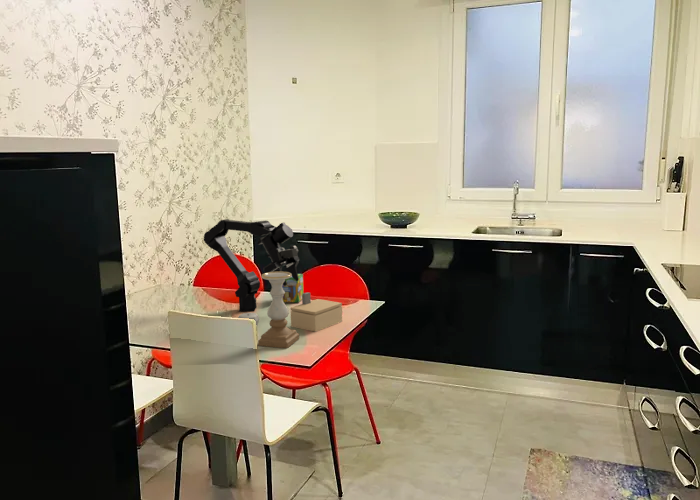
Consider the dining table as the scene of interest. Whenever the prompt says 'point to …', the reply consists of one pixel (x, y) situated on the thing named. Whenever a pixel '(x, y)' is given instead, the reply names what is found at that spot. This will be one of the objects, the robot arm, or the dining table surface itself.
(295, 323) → the wooden box
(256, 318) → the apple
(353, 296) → the dining table surface
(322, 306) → the lid
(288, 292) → the chalk box
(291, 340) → the candle holder
